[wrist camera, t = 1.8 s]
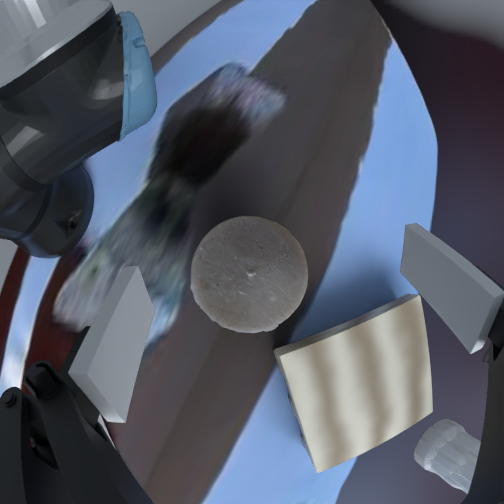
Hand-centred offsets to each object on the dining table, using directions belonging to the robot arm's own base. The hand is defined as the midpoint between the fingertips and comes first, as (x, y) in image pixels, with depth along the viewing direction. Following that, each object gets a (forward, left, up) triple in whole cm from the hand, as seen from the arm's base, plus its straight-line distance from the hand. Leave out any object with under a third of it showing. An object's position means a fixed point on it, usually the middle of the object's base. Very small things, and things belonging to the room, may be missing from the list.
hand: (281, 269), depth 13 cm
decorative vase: (+26, -45, -24) cm, 57 cm away
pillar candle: (0, 0, -24) cm, 24 cm away
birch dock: (+11, -20, -23) cm, 33 cm away
